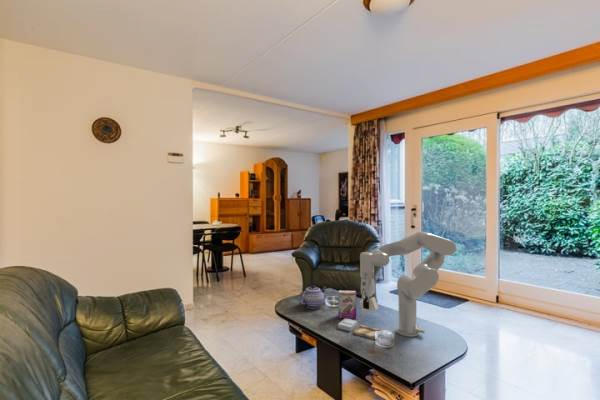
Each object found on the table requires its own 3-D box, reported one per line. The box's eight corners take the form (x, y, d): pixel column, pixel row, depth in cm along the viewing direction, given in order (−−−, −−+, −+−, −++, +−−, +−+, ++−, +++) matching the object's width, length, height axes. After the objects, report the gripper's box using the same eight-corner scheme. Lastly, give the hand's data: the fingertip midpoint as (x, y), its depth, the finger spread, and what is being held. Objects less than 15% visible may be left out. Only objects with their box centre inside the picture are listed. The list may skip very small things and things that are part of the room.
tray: (382, 333, 167) (382, 330, 167) (376, 340, 159) (376, 337, 159) (359, 327, 175) (359, 324, 175) (353, 333, 167) (353, 330, 167)
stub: (378, 307, 165) (374, 296, 166) (375, 310, 162) (372, 298, 163) (365, 309, 170) (361, 299, 171) (362, 312, 166) (359, 301, 167)
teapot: (304, 314, 195) (304, 291, 195) (292, 307, 208) (291, 285, 207) (334, 305, 209) (333, 284, 209) (320, 299, 222) (320, 279, 221)
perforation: (348, 332, 168) (348, 332, 168) (348, 332, 168) (348, 332, 168) (336, 329, 172) (336, 329, 172) (336, 329, 172) (336, 329, 172)
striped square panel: (357, 325, 178) (357, 321, 178) (350, 331, 170) (350, 327, 170) (345, 322, 182) (345, 318, 182) (338, 328, 174) (338, 323, 174)
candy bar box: (338, 318, 187) (338, 292, 187) (338, 315, 192) (338, 290, 192) (356, 319, 186) (356, 293, 186) (356, 316, 191) (355, 290, 191)
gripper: (368, 279, 157) (368, 313, 158) (378, 272, 171) (379, 303, 172) (354, 277, 162) (355, 310, 162) (366, 270, 175) (367, 301, 176)
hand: (367, 306), depth 167 cm, fingers closed on stub, 3 cm apart
